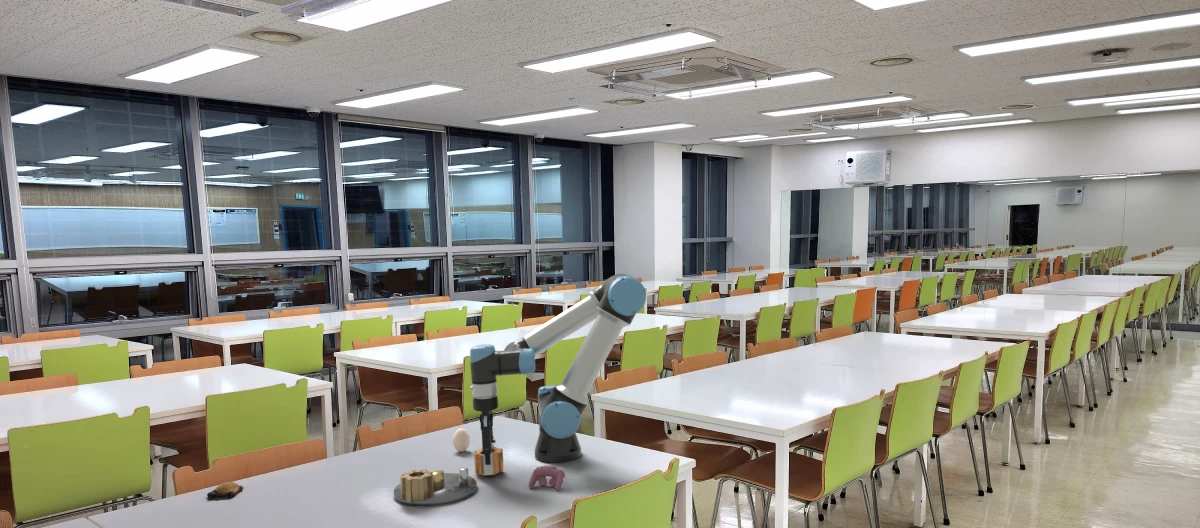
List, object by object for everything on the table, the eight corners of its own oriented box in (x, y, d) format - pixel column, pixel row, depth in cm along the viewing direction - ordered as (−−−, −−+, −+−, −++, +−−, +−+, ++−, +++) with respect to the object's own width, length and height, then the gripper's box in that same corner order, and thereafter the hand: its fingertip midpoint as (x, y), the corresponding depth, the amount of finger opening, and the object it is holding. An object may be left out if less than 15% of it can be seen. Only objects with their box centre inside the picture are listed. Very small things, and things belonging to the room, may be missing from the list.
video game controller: (564, 493, 208) (567, 468, 210) (558, 490, 204) (562, 465, 206) (532, 490, 211) (536, 465, 213) (526, 487, 207) (530, 462, 209)
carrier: (479, 475, 220) (478, 451, 219) (473, 503, 197) (472, 476, 197) (401, 480, 217) (400, 455, 217) (386, 509, 195) (385, 481, 194)
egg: (462, 448, 249) (461, 425, 249) (473, 450, 246) (472, 427, 246) (450, 452, 245) (449, 429, 244) (461, 455, 242) (460, 431, 241)
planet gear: (503, 465, 226) (502, 446, 226) (503, 474, 218) (501, 454, 217) (476, 467, 225) (475, 448, 225) (474, 476, 217) (473, 456, 217)
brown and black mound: (216, 490, 215) (216, 478, 215) (246, 488, 216) (246, 476, 216) (202, 503, 205) (201, 490, 205) (234, 501, 206) (233, 488, 206)
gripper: (475, 389, 231) (479, 460, 232) (469, 405, 210) (474, 482, 211) (498, 387, 232) (503, 458, 233) (496, 403, 210) (500, 480, 211)
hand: (489, 469), depth 222 cm, fingers closed on planet gear, 8 cm apart
